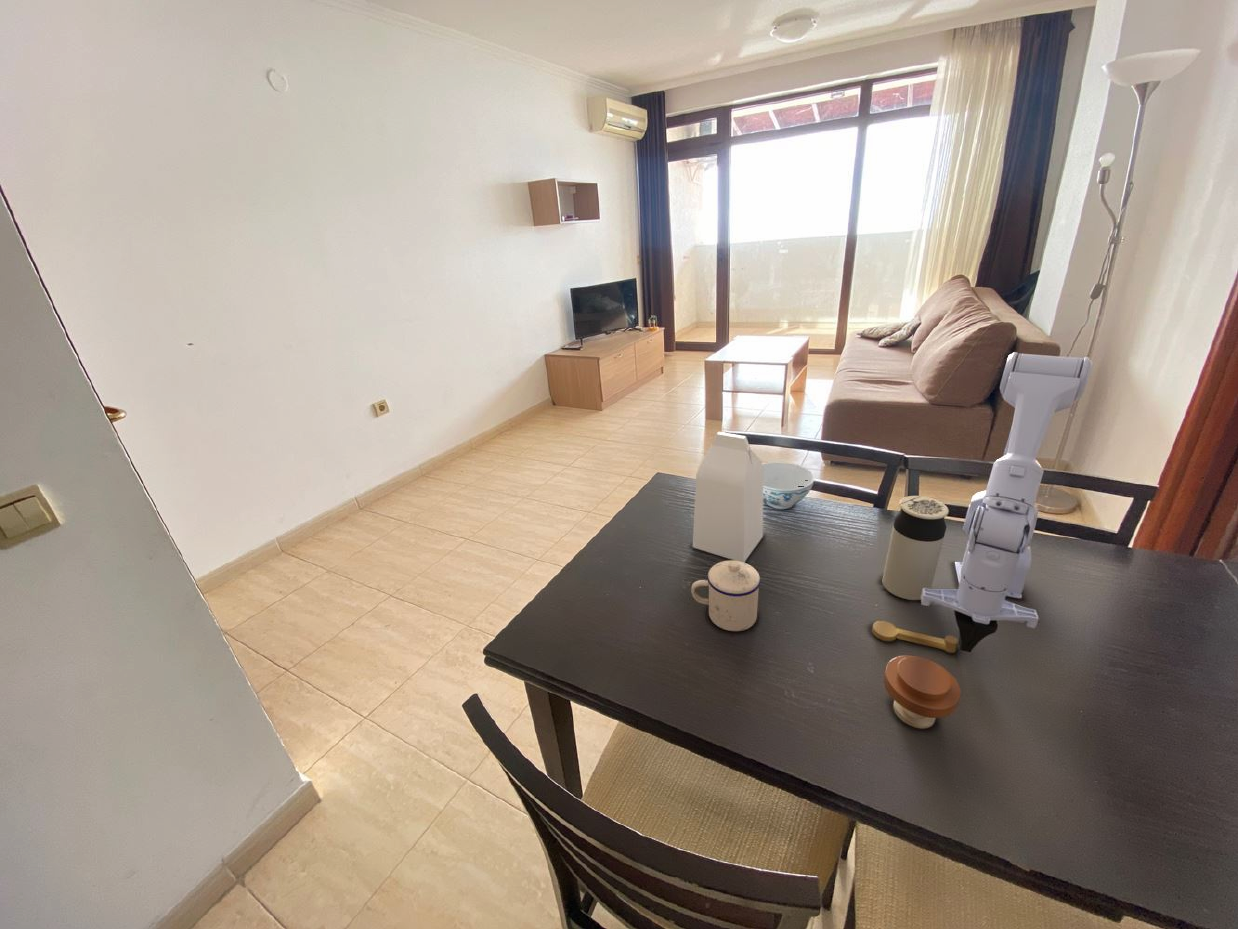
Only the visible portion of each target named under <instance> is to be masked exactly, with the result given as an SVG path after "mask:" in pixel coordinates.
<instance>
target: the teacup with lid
mask: <svg viewBox="0 0 1238 929" xmlns="http://www.w3.org/2000/svg"><path fill="white" fill-rule="evenodd" d="M760 586H761V577H760V575H759V572H758V571H757V570H756V568H755V567H753V566H752V565H750V564H748V563H746V562H740V561H735V560H732V559H729V560H724V561H723V560H722V561H720V562H718V563H715V564H714V565H712V567H711V568H710V569H709V570H708V573H707V579H699V580H696V581H695V582H693V583H692V585H691V588H690V592H691V595H692V597H693V599H694V600H695V601H696V602H698V603H699V604H702V605H708V616H709V618H710V620H711V622H712V624H714V625H716V626H717V627H718V628H720V629H722V630H726V631H730V632H742V631H745V630H748V629H750V628H751V627H753V626H754V624H755V623H756V621H757V619H758V604H759V602H758V601H759V587H760ZM699 587H708V598H707V597H703V596H701V595H699V594H698V593H697V591H696V589H697V588H699Z"/></svg>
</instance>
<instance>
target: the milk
mask: <svg viewBox="0 0 1238 929" xmlns="http://www.w3.org/2000/svg"><path fill="white" fill-rule="evenodd" d="M750 446H751V445H750V443H749V441H748V438H747V436H746V435H740V434H735V433H729V432H724V431H718V432H717V433H715V436H714V438H713V439H712V442H711V443H710V446H709V447H708V449H707V451H706V453H705V455H704V457H703V459H702V460H701V462H700V464H699V466H698V468H697V471H696V476H695V490H694V509H693V513H694V514H693V529H692V548H693V549H697V550H700V551H703V552H707V553H710V554H713V555H715V556H720V557H721V558H722V557H723V558H726V559H728V560H732V561H740V562H744V563H746V561H747V560H748V558H749V557H750V555H751V554H752V552H753V551H754V549H755V548H756V547H757V546H758V544H759V543H760V541H761V540H762V539H763V537H764V500H763V464H764V463H763V461H762V460H761V458H760V457H759V456H758V455H757V454H756V453H755V451H753V450H752V449H751V447H750Z"/></svg>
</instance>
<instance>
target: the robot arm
mask: <svg viewBox="0 0 1238 929" xmlns="http://www.w3.org/2000/svg"><path fill="white" fill-rule="evenodd" d="M1092 368H1093V361H1092V360H1091V359H1090V357H1087V356H1085V357H1083V358H1082V357H1072V356H1060V355H1059V356H1058V355H1044V354H1030V353H1018V352H1015V351H1014V352H1012V353H1010V354H1009V355H1008V357H1007V359H1006V363H1005V366H1004V369H1003V373H1002V377H1001V380H1000V385H999V390H1000V394H1001V398H1003V400H1004V402H1006V403H1007V404H1008V405H1010V406H1012V407H1013V408H1014V413H1013V418H1012V424H1011V428H1010V430H1009V434H1008V438H1007V441H1006V445H1005V448H1004V451H1003V455H1002V456H1001V457H1000V458H998V459H996V460H995V461H994V462H993V465H992V468H991V472H990V475H989V479H988V482H987V485H986V489H985V490H983V491H979V492H977V493H975V494H974V495H973V496H972V498H971V500H970V503H969V505H968V508H967V511H966V514H965V518H964V521H963V522H964V523H963V525H962V526H963V527H962V532H963V533H964V535H967V536H968V537H967V544H966V548H965V551H964V555H963V558H962V562H961V561H955V562H954V567H955V572H956V576H957V580H958V581H957V582H958V588H957V589H956V588H955V589H951V588H950V589H949V588H948V589H947V588H945V589H944V588H943V589H941V588H940V589H938V588H936V589H934V588H931V589H926V588H923V590H922V594H921V600H920V602H921V605H922V606H926V607H929V606H930V605H933V606H938V607H943V608H947V609H951V610H953V612H954V618H955V621H956V625H957V627H958V647H959V650H960V651H962V652H965V653H971V652H972V651H973V649H974V648H975V647H976V646H977V644H979V643H980V642H981V641H982V640H984V639H985V638H986V637H988V636H990V635H992V634H995V633H996V632H997V630H998V628H999V625H998V624H999V623H998V621H1011V622H1016V623H1021V624H1024V625H1025V626H1026V627H1027V628H1032V629H1036V628H1037V625H1038V622H1039V620H1040V618H1039V614H1038V613H1037V610H1036V609H1034V608H1028V607H1024V606H1022V605H1019V604H1016V603H1014V602H1012V601H1011V602H1010V601H1008V600H1006V597H1008V598H1014V599H1022V598H1023V595H1022V594H1023V591H1024V587H1025V584H1026V583H1027V582H1026V581H1027V579H1028V576H1029V574H1030V570H1031V566H1032V560H1033V559H1032V558H1033V557H1032V550H1031V546H1030V545H1031V542H1032V539H1033V536H1034V532H1035V528H1036V525H1037V520H1038V516H1039V509H1038V506H1037V505H1036V500H1037V497H1038V494H1039V489H1040V486H1041V483H1042V479H1043V475H1044V472H1045V471H1044V468H1043V467H1042V465H1041V464H1040V463H1039V461H1038V460H1037V456H1038V454H1039V451H1040V449H1041V446H1042V444H1043V441H1044V439H1045V437H1046V433H1047V432H1048V429H1049V426H1050V424H1051V422H1052V419H1053V417H1054V414H1055V413H1058V412H1061V411H1064V410H1067V409H1070V408H1071V407H1072V405H1074V404H1075V403H1076V402H1077V401H1079V399H1081V398H1082V397H1083V395H1084V392H1085V390H1086V387H1087V384H1088V381H1089V378H1090V374H1091V371H1092Z"/></svg>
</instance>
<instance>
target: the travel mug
mask: <svg viewBox="0 0 1238 929" xmlns="http://www.w3.org/2000/svg"><path fill="white" fill-rule="evenodd" d="M898 505H899V509H900V510H899V511H898V512H897V513H896V514H895V515H894V520H893V525H892V528H891V535H890V538H889V539H890V540H889V545H888V550H887V555H886V559H885V560H886V561H885V565H884V570H883V575H882V580H881V582H882V586H883V587H884V588H885V589H886V590H887V592H889V593H890V594H892V595H894V596H896V597H898V598H900V599H901V598H902V599H906V600H909V601H921V594H922V590H923V588H926V589H932V588H933V583H934V578H935V574H936V570H937V568H938V567H937V566H938V562H939V559H940V555H941V551H942V548H943V543H944V539H945V535H946V531H947V524H946V521H945V518H946V517H947V516H948V514H949V512H950V510H949V508H948V507H947V505H946V504H944V503H943V502H941V501H940V500H938V499H935V498H932V497H929V496H922V495H909V496H905V497H903V498H901V499H900V500H899V502H898Z"/></svg>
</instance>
